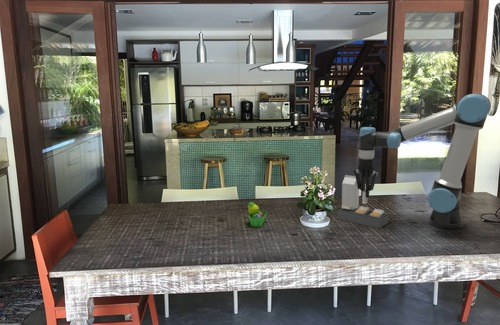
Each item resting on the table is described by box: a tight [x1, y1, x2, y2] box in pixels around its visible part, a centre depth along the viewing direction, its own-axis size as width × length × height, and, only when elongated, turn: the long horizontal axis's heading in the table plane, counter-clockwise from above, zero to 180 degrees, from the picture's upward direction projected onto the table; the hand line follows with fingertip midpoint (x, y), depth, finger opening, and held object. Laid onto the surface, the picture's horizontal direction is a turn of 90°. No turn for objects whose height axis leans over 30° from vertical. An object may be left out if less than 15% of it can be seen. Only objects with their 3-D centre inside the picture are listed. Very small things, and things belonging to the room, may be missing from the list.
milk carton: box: [341, 174, 360, 209], centre depth 228 cm, size 7×7×19 cm
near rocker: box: [370, 208, 385, 218], centre depth 200 cm, size 4×6×1 cm
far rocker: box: [341, 205, 355, 210], centre depth 211 cm, size 4×6×1 cm
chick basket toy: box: [247, 201, 267, 228], centre depth 204 cm, size 11×9×11 cm
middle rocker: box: [355, 205, 370, 215], centre depth 205 cm, size 4×6×1 cm
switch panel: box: [336, 207, 389, 229], centre depth 206 cm, size 23×10×5 cm, turn 47°
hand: (364, 203), depth 207 cm, fingers closed
